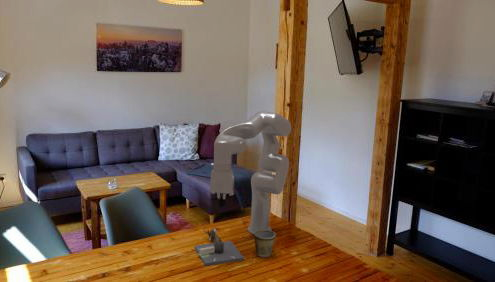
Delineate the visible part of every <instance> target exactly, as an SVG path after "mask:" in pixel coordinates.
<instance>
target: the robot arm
mask: <svg viewBox="0 0 495 282" xmlns="http://www.w3.org/2000/svg"><path fill="white" fill-rule="evenodd" d="M291 132H292V124H291V122H290V120H288V119H287V118H285V116H282V115H281V114H279V113H277V112H271V111H265V110H264V111H262V110H261V111H257V112H256V113H254V114H253V115H252V116H251V117H250V118H249V119H247V120H246V121H245V122H243V123H239V124H236V125H233V126H229V127H227V128H226V129H224V130H222V131H221V132H220V133H219V134H218V136H216V138H215V140H214V143H213V151H214V152H213V163H210V167H212V168H213V169H212V170H211V174H210V183H209V191H210V194H213V195H214V196H216V197H217V199H218V205H219V208H222V209H223V208H224V207H225V206H226V204H227V198H229V197H231V196H234V195H235V191H234V190H235V180H234V179H235V178H234V177H235V176H234V171H233V169H232V155H239V154H241V153H243V152H244V151H245V150H246V147H247V142H246V140H251V139H255V137H257V136H258V135H259V134H260V133H261V135H262V139H263V144H262V148H261V152H260V157H259V160H258V167H259V169H261V170H263V171H267V172H271V173H267V172H261V171H257V172H254V173H253V174H252V176H251V177H250V186H251V209H250V210H251V212H250V213H251V214H250V216H251V217H250V225H248V227H247V231H248V232H249V233H250V234H251V235H254V232H255V231H257V230H262V229H264V230H270V231H272V228H271V226H270V211H271V209H270V208H271V197H270V194H273V195H280V194H282V193H283V190H284V188H285V185H286V180H287V176H288V171H289V168H290V160H289V158H288V156H287V155H284V154H279V151H280V150H279V149H280V142H279V139H278V137H287V136H289V135H291ZM272 173H275V174H272Z"/></svg>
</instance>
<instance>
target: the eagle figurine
mask: <svg viewBox="0 0 495 282" xmlns="http://www.w3.org/2000/svg"><path fill="white" fill-rule="evenodd" d="M217 231H218V230H217V229H216V228H215V227H214V228H213V229H208V230H207V231H206V230H204V229H203V232H204V233H206V234H207V235H208V237H209V238H208V242H211V241H212V240H213V243H214V242H216V241H221V242H222V240H221V238H220V237H219V236H218V235H217V234H218V232H217Z"/></svg>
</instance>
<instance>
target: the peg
mask: <svg viewBox="0 0 495 282" xmlns="http://www.w3.org/2000/svg"><path fill="white" fill-rule="evenodd" d="M223 242H224V241H222V240H221V241H216V242H214V241H213V243H214V246H211V247H206V248H201V249H200V254H201V255H205V254H209V253H214V252H215V253H218V254H220V253H223V250H224V243H223Z"/></svg>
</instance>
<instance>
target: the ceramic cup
mask: <svg viewBox="0 0 495 282" xmlns="http://www.w3.org/2000/svg"><path fill="white" fill-rule="evenodd" d="M276 236H277V235H276V232H275V231H272V230H271V231H270V230H264V229H262V230H257V231H255V232H254V234H253V239H254V247H255V253H256V255H258V257H262V258H267V257H270V255H271V254H272V251H273V245H274V243H275V239H276Z"/></svg>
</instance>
